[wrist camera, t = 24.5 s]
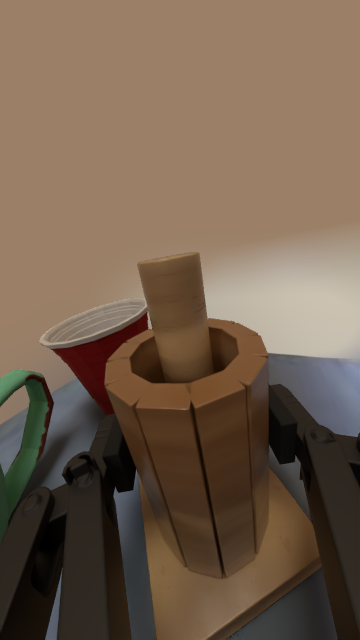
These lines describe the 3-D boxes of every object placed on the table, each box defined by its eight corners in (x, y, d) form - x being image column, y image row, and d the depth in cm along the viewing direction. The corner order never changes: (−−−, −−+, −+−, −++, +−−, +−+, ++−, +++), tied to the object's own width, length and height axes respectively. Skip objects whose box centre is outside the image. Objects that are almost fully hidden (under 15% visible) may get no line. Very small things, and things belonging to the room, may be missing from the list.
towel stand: (328, 562, 10) (407, 219, 4) (167, 684, 8) (-111, 325, 2) (232, 427, 18) (215, 245, 12) (140, 469, 16) (67, 272, 10)
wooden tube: (282, 594, 9) (293, 412, 5) (140, 559, 10) (63, 404, 6) (256, 444, 15) (252, 313, 11) (171, 438, 17) (141, 323, 13)
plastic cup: (88, 390, 27) (54, 312, 23) (160, 366, 30) (142, 292, 26) (72, 464, 17) (9, 352, 13) (182, 419, 20) (159, 313, 16)
